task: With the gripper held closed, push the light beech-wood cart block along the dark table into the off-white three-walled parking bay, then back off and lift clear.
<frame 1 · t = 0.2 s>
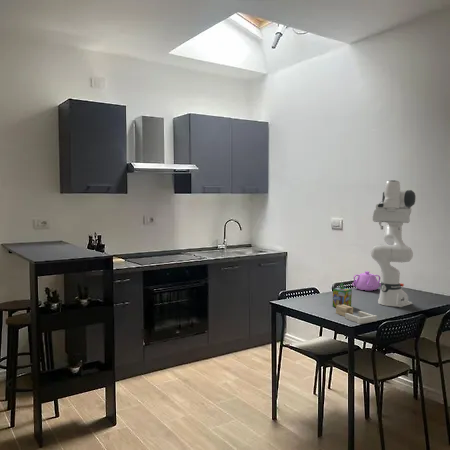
hand: (390, 229, 264), 52 cm above the table, tool tilted 20°, fingers open, 8 cm apart
chalk box: (341, 307, 293), on the table
cart block: (344, 314, 274), on the table
parking bay: (360, 319, 263), on the table
teapot: (367, 290, 346), on the table
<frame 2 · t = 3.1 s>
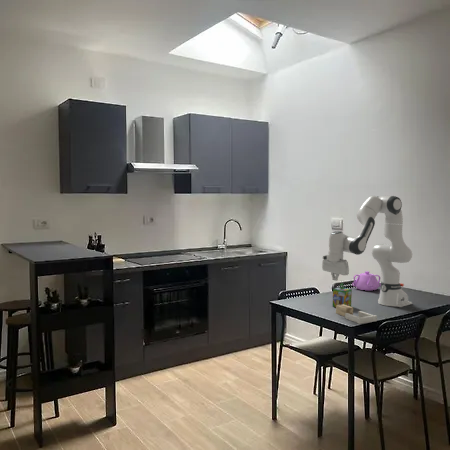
hand: (335, 280, 281), 19 cm above the table, tool pointing down, fingers closed
nothing on the table moved.
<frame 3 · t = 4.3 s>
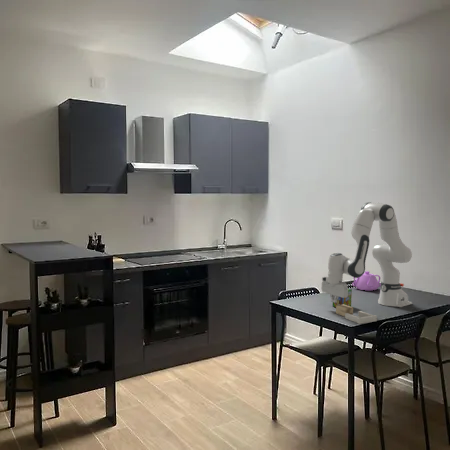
hand: (334, 302, 281), 6 cm above the table, tool pointing down, fingers closed
nothing on the table moved.
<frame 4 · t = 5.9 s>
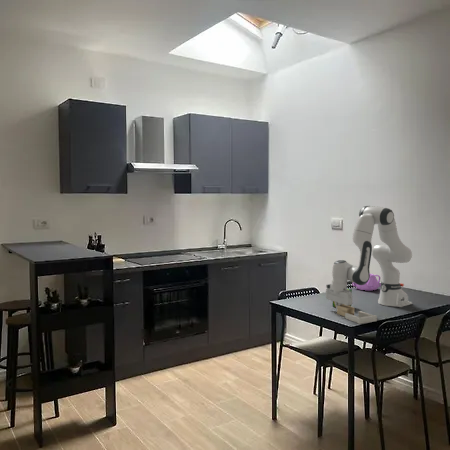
hand: (338, 309, 279), 2 cm above the table, tool pointing down, fingers closed
cart block: (345, 314, 273), on the table, touching gripper
everything else where it was.
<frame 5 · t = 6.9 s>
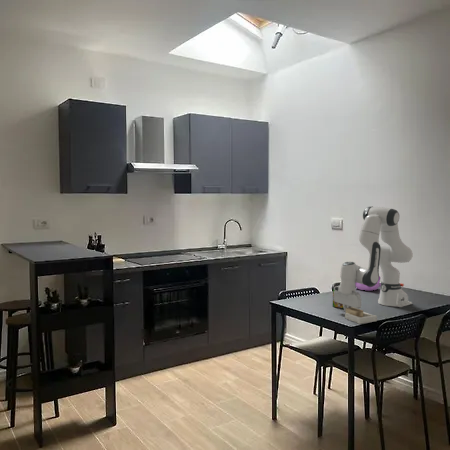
hand: (346, 312, 272), 2 cm above the table, tool pointing down, fingers closed
cart block: (354, 317, 267), on the table, touching gripper
everything else where it was.
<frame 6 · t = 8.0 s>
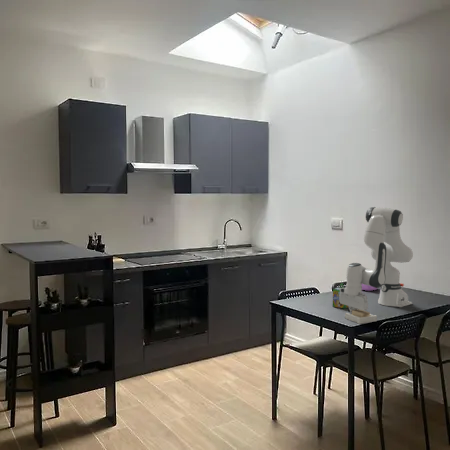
hand: (352, 314, 268), 2 cm above the table, tool pointing down, fingers closed
cart block: (360, 320, 262), on the table, touching gripper, parking bay
everything else where it was.
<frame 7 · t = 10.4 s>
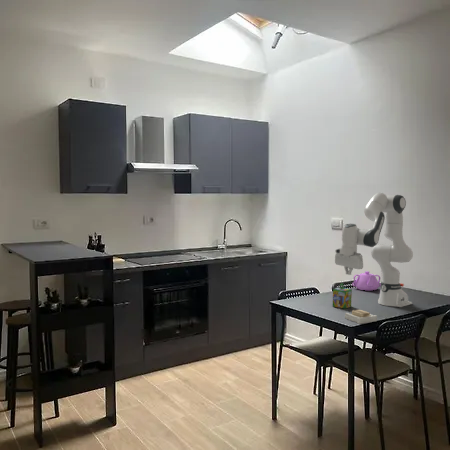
hand: (348, 274, 273), 24 cm above the table, tool pointing down, fingers closed
cart block: (360, 320, 262), on the table
everything else where it was.
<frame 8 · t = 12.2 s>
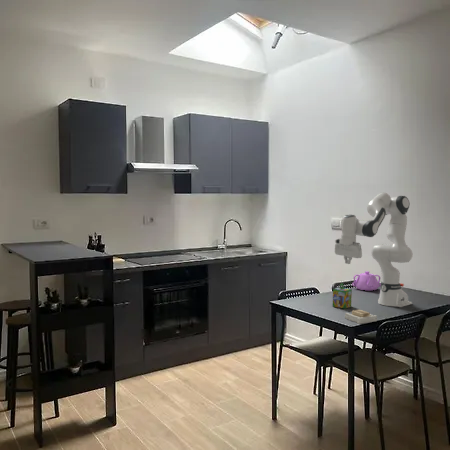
hand: (347, 263, 282), 29 cm above the table, tool pointing down, fingers closed
nothing on the table moved.
at the end: cart block inside the target area (0.5 cm from its centre), on the table; cart block tilted 0° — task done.
